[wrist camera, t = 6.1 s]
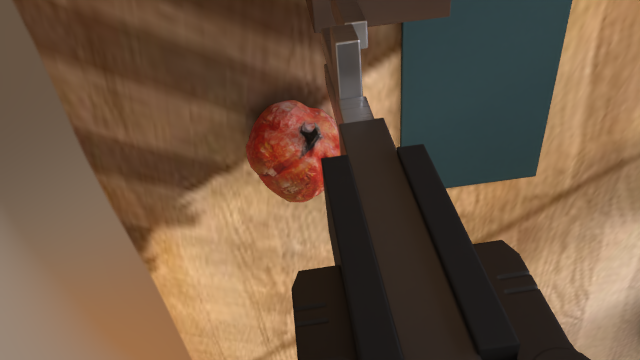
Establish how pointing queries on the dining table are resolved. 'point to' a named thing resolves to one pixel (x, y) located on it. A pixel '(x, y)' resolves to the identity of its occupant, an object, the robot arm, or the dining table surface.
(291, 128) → the red round fruit
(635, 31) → the dining table surface
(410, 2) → the fork stand
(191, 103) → the dining table surface
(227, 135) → the dining table surface
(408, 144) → the mat
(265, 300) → the dining table surface
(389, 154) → the fork
